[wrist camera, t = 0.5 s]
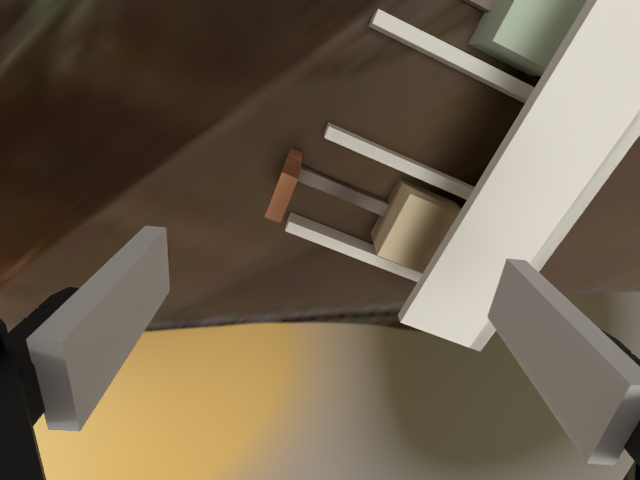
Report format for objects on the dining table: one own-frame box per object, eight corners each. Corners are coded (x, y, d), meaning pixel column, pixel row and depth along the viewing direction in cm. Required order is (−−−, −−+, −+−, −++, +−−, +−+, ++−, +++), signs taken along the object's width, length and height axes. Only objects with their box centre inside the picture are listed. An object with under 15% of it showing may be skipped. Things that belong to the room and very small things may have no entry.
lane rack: (287, 221, 38) (275, 276, 28) (430, -123, 28) (494, -231, 18) (440, 281, 41) (480, 351, 31) (623, -12, 30) (775, -50, 20)
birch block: (272, 193, 37) (258, 231, 28) (296, 133, 35) (288, 155, 26) (424, 254, 40) (452, 306, 31) (455, 202, 37) (495, 242, 29)
